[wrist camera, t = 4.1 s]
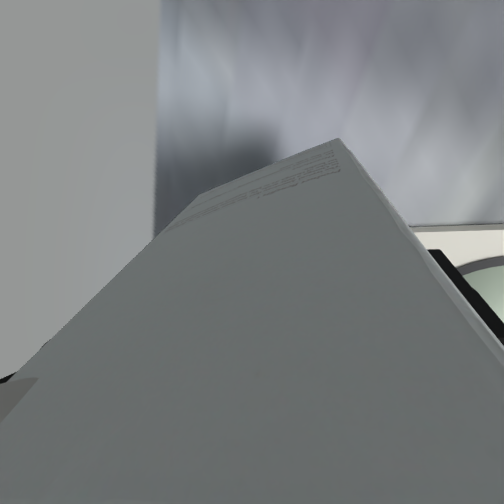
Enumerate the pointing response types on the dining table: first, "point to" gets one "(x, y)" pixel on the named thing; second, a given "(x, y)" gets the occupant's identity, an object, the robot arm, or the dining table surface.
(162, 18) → the dining table surface
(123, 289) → the supplement box
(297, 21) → the dining table surface
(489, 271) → the picture board
